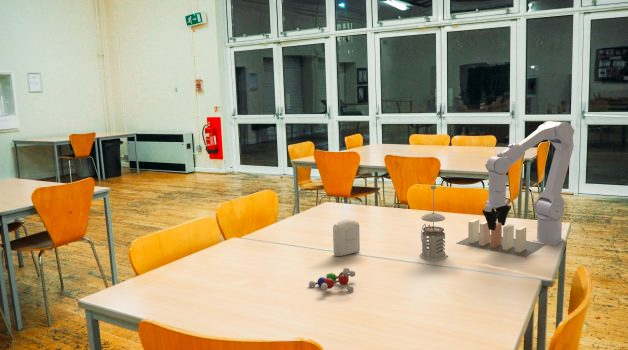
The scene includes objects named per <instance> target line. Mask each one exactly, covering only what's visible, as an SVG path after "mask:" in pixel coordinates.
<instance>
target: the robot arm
mask: <svg viewBox="0 0 628 350" xmlns="http://www.w3.org/2000/svg"><path fill="white" fill-rule="evenodd" d="M574 134H575V129H574V128H573V126H572V125H571V123H569V122H568V121H561V122H560V121H553V120H547V121H545V122H544V123H542V124H540V125H539V126H538V127H537V128H536V130H534V131H533V132H532V133H530V134H529V135H528V136H527V137H526V138H524V139H523V140H522V141H520V142H519V143H509V144H508V145H507V148H505V149H504V150H502V151H500V152H498V153H497V155H493V156H491V157H489V158H488V160H487V161H486V163H485V168H486V171H487V172H488V200H486V201H485V204H486V205H485V206H484V209H482V210H481V211H482V214H483V216H484V218H485V221H487V224H488V228H489V230H490V231H491V230H495V228H496V223H497V222H498V223H502V226H503V227H505V226H506V225H505V224H506V221H507V218H508V214H509V212H510V210H511V209H512V206H511V205H510V204H509V198H506V197H507V195H506V193H507V191H506V190H507V173H508V172H509V170H510V167H511V166H512V165H514V164H515V163H516V162H518V161H519V160H522V158H523V157H525V155H526V152H527V151H528V150H530V149H532V148H533V147H534V146H536V145H538V144H539V143H540V142H542V141H549V142H550V143H551V144H552V145H553V147H554V148H555V150H554V153H553V157H552V161H551V165H550V168H549V173H548V175H547V180H546V183H545V187H544V190H543V191H541V193H538V197H537V198H536V201H535V202H534V203H533V210H534V212H535V214H536V217H537V226H536V238H535V239H533V240H532V242H536V243H542V244H547V245H552V246H555V245H557V244H559V243H561V241H564V240H565V238H562V229H563V228H562V226H563V224H562V220H561V218H562V217H563V216H564V213H565V207H564V205H565V199H564V197H563V196H562V191H563V186H564V183H565V180H566V176H567V173H568V169H569V166H570V165H569V164H570V161H571V157H572V156H573V155H572V154H573V151H574Z"/></svg>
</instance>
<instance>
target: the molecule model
mask: <svg viewBox="0 0 628 350" xmlns="http://www.w3.org/2000/svg"><path fill="white" fill-rule="evenodd" d="M349 277H351V278H353V277H356V271H355V270H350V268H349V267H346V266H345V267H344V268H343V269H342V271H341V272H339V273H338V275H336V274H335V273H333V272H330V273H328V272H327V274H326V275H325V277H323V276H322V277H319V278H318V279H317V282H316V281H314V280H310V281H309V282H308V286H309V287H310V286H314V287H315V286H316V285H318V286H319V287H320V289H321V290H322V291H326V290H328V289H333V288H334V286H335V284H336V283H339V284H340V285H342V286H346V291H347V290H348V291H352V292H354V289H355V288H354V286H353V285H350V284H349V281H350V279H349ZM348 291H347V292H348Z"/></svg>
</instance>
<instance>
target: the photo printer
mask: <svg viewBox="0 0 628 350" xmlns="http://www.w3.org/2000/svg"><path fill="white" fill-rule="evenodd" d="M360 238H361V237H360V223H359V221H358V220H356V219H344V220H340V221H338V222H336V223H335V224H333V226H332V242H333V243H332V245H333V255H334V256H335V257H341V256H347V255H351V254H355V253H359V252H360V248H361V246H360V243H361V242H360Z"/></svg>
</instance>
